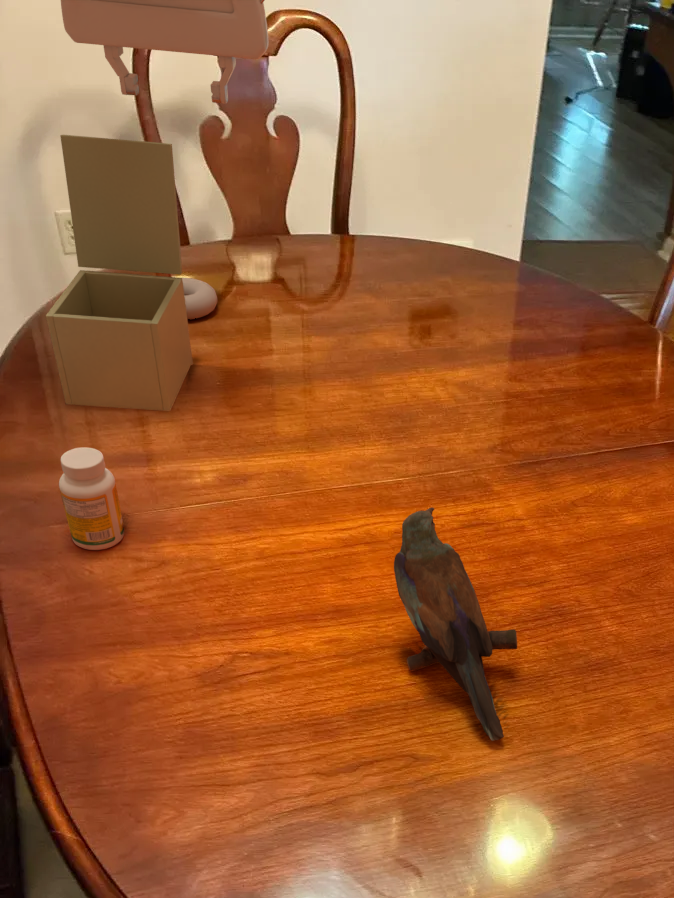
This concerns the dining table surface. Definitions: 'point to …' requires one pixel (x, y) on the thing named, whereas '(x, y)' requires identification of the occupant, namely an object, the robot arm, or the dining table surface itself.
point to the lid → (123, 204)
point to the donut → (198, 298)
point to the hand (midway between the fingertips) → (175, 98)
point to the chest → (121, 340)
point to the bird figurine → (447, 614)
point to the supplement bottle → (90, 499)
